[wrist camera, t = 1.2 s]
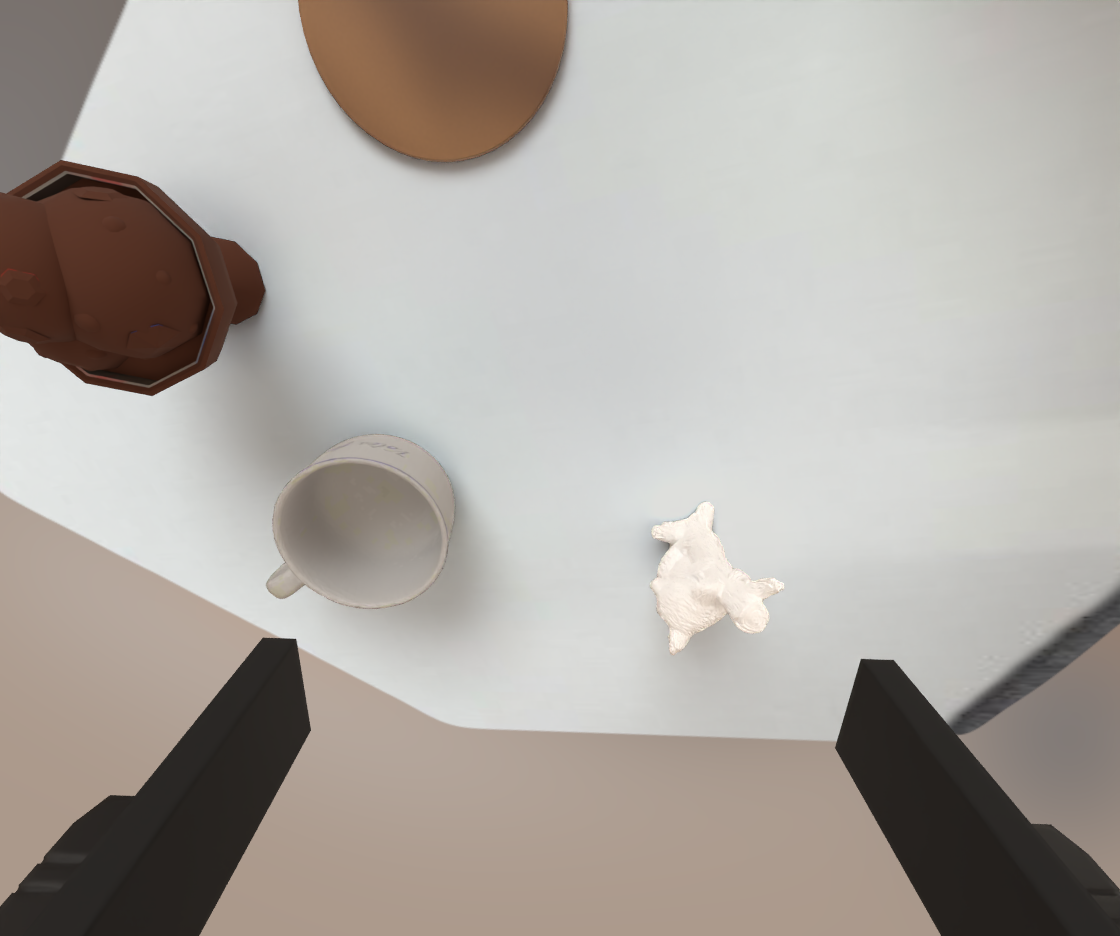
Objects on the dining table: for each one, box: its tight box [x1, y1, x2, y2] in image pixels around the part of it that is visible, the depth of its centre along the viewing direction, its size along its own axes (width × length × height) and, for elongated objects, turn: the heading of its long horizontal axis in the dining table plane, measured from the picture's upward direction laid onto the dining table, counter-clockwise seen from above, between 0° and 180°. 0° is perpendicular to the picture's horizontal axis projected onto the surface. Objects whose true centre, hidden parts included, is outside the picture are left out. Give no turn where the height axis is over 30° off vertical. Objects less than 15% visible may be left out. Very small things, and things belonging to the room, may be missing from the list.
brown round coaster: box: [298, 0, 568, 162], centre depth 30 cm, size 15×15×1 cm
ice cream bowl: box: [0, 160, 265, 396], centre depth 29 cm, size 11×11×15 cm
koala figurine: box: [650, 502, 784, 655], centre depth 36 cm, size 8×7×12 cm
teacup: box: [266, 434, 455, 609], centre depth 37 cm, size 14×11×8 cm
